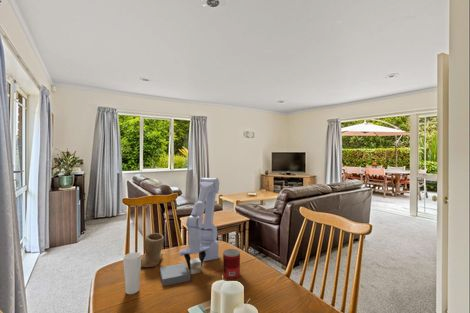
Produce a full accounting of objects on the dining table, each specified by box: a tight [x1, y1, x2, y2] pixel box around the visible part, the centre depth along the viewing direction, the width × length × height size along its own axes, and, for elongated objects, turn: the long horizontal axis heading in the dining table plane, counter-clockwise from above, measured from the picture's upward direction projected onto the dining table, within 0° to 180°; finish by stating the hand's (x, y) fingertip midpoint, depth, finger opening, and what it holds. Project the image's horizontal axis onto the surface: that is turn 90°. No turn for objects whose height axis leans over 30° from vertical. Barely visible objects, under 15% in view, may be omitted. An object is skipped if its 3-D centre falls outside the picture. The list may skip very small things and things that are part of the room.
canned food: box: [222, 248, 241, 280], centre depth 112 cm, size 8×8×11 cm
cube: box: [188, 257, 202, 275], centre depth 117 cm, size 5×5×5 cm
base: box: [159, 262, 191, 287], centre depth 111 cm, size 12×12×3 cm
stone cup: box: [141, 232, 165, 268], centre depth 126 cm, size 15×12×15 cm
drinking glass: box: [123, 251, 142, 295], centre depth 99 cm, size 7×7×15 cm
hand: (194, 267), depth 117 cm, fingers closed on cube, 5 cm apart
